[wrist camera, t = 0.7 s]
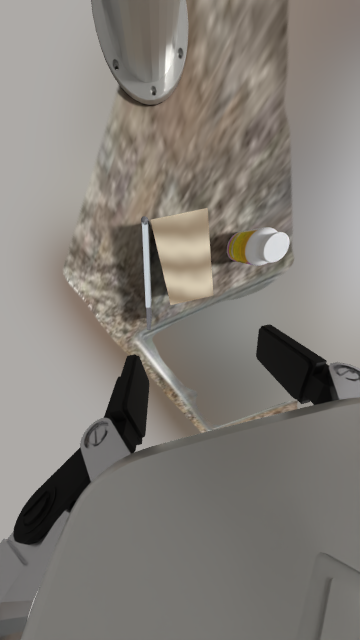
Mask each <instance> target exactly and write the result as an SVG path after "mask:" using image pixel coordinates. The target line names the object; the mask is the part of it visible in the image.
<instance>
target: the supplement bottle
mask: <svg viewBox="0 0 360 640" xmlns="http://www.w3.org/2000/svg"><path fill="white" fill-rule="evenodd" d="M288 247H289V238H288V236H287V234H285V233H283V232H277V231H276V230H275V229H273V228H270V227H265V228H259V229H253V230H247V231H241V232H238V233H236V234H234V235H233V236H232V237H231V238H230V240H229V242H228V245H227V254H228V256H229V258H230V259H231V260H233V261H236V262H241V263H246V264H251V265H256V266H260V265H264V264H266V263H268V262H276V261H278V260H280V259H281V258H282V257H283V256H284V255H285V253H286V252H287V250H288Z"/></svg>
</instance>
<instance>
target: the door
mask: <svg viewBox="0 0 360 640" xmlns="http://www.w3.org/2000/svg"><path fill="white" fill-rule="evenodd" d="M141 222H142V234H143V256H144V279H145V301H146V313H147V330H151V319H152V311H151V299H152V296H151V252H150V223H149V220H148V218H147V217H145V216H144V217H142V219H141Z"/></svg>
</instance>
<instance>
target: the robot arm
mask: <svg viewBox="0 0 360 640" xmlns="http://www.w3.org/2000/svg"><path fill="white" fill-rule="evenodd" d="M91 2H92V12H93V18H94V22H95V27H96V32H97V35H98V39H99V42H100V45H101V49H102V52H103V54H104V57H105V60H106V62H107V64H108V66H109V68H110V70H111V72H112V74H113V76H114V77H115V79H116V80H117V82H118V84H119V85H120V86H121V87H122V88H123V90H124V91H125V92H126V93H127V94H128V95H130V96H131V97H132V98H133V99H135V100H137V101H139V102H141V103H143V104H148V105H153V104H158V103H161V102H163V101H164V100H166V99H167V98H168V97H169V96H170V95H171V94H172V93H173V91H174V90H175V89H176V87H177V85H178V83H179V81H180V78H181V75H182V72H183V69H184V64H185V58H186V52H187V43H188V15H187V5H186V0H91ZM116 69H118V70H116ZM153 94H154V95H155V96H154V95H153ZM256 357H257V359H258V360H259V361H260V362H261V363H262V365H264V367H265V368H266V369H267V370H268V371H269V372H270V373H271V374H272V375H273V376H274V377H275V379H276V380H277V381H278V382H279V383H280V384H281V385H282V386H283V387H284V388H285V390H287V392H288V393H289V394H290V395H291V396H292V397H293V398H295V399H297V400H298V401H299V402H300V403H301V404H304V403H307V402H310V401H311V402H312V403H313V404H314V405H313V406H309V407H304V408H300V409H296V410H292V411H288V412H284V413H280V414H276V415H272V416H268V417H264V418H260V419H256V420H252V421H248V422H244V423H240V424H236V425H232V426H228V427H224V428H220V429H216V430H212V431H208V432H204V433H201V434H197V435H193V436H189V437H186V438H181V439H178V440H174V441H170V442H167V443H163V444H160V445H156V446H152V447H149V448H146V449H143V450H140V451H138V452H135V450H136V445H140V444H142V437H144V436H145V431H146V419H147V407H148V394H149V380H148V377H147V375H146V372H145V370H144V367H143V365H142V362H141V360H140V357H139V356H136V355H130V356H127V358H126V362H125V365H124V368H123V371H122V374H121V377H118V379H117V381H116V384H115V387H114V390H113V393H112V395H111V398H110V402H109V404H108V407H107V410H106V413H105V416H104V418H101V419H99V420H97V421H95V422H94V423H93V424H92V425H91V426H90V427H89V428H88V429H87V430H86V432H85V433H84V435H83V437H82V439H81V444H80V448H79V449H78V450H77V451H76V452H75V453H74V455H72V456H71V457H70V458H69V459H68V460H67V461H66V462H65V463H64V464H63V465H62V466H61V467H60V468H59V469H58V470H57V471H56V472H55V473H54V474H53V475H52V476H51V477H50V478H49V479H48V480H47V481H46V482H45V483H44V484H43V485H42V486H41V487H40V488H39V489H38V490H37V491H36V492H35V493H34V494H33V495H32V496H31V498H30V499H29V500H28V502H27V503H26V505H25V506H24V507H23V509H22V511H21V513H20V514H19V517H18V519H17V521H16V524H15V527H14V531H13V533H12V534H11V535H10V537H9V538H8V539H3V540H2V542H1V543H0V640H360V369H359V368H357V367H354V366H352V365H348V364H345V363H332V364H330V365H327V364H326V360H325V359H323V358H322V357H320V356H318V355H317V354H315V353H314V352H312V351H311V350H309V349H308V348H306V347H304V346H303V345H301V344H300V343H298V342H296V341H295V340H294V339H292V338H290V337H289V336H287V335H286V334H284V333H282V332H281V331H279V330H278V329H276V328H275V327H273V326H272V325H265V326H262V327H261V328H260V329H259V334H258V345H257V353H256ZM134 452H135V453H134ZM38 589H39V590H38ZM37 591H38V593H37ZM36 593H37V596H36V598H35V601H34V604H33V607H32V609H31V612H30V615H29V618H28V614H29V611H30V608H31V605H32V602H33V599H34V597H35V595H36ZM27 619H28V620H27Z"/></svg>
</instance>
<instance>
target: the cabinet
mask: <svg viewBox="0 0 360 640" xmlns="http://www.w3.org/2000/svg"><path fill="white" fill-rule="evenodd" d="M151 224H152V228H153V233H154V237H155V241H156V245H157V249H158V254H159V258H160V262H161V266H162V270H163V275H164V279H165V283H166V287H167V291H168V296H169V300H170V304H171V305H173V304H178V303H182V302H186V301H191V300H195V299H200V298H204V297H208V296H213V284H212V269H211V254H210V239H209V223H208V208H205V209H200V210H196V211H191V212H186V213H181V214H176V215H172V216H167V217H162V218H157V219H152V220H151Z"/></svg>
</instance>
